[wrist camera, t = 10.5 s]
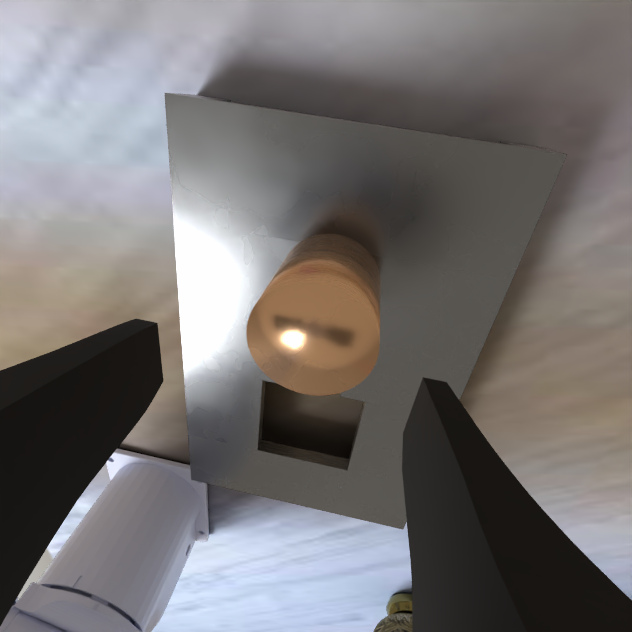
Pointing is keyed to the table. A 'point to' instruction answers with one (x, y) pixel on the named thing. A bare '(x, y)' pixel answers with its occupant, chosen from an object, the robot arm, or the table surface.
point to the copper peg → (319, 317)
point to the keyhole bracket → (376, 237)
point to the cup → (397, 614)
